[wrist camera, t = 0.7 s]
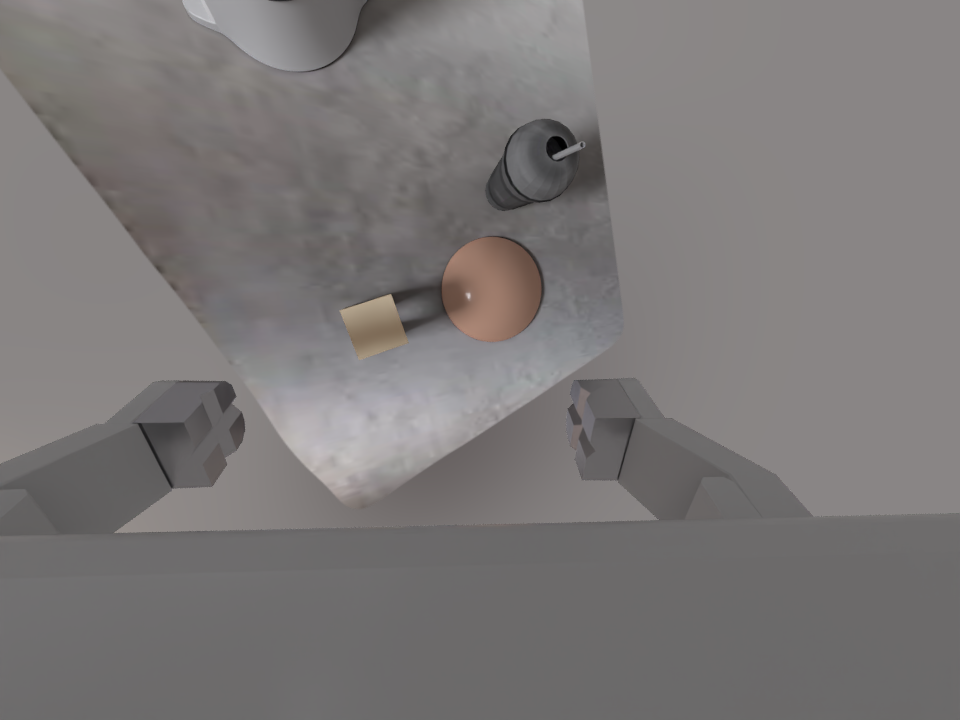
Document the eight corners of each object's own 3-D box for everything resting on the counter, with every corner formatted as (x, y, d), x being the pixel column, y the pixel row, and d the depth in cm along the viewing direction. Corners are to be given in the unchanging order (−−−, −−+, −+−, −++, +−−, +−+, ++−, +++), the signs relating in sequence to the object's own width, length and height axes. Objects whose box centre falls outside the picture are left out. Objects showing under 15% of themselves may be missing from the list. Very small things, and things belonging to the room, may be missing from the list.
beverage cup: (530, 162, 50) (626, 80, 31) (530, 223, 52) (623, 180, 33) (473, 158, 49) (538, 69, 30) (475, 221, 50) (538, 175, 31)
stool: (346, 307, 48) (339, 310, 38) (387, 294, 49) (391, 294, 39) (361, 347, 49) (359, 360, 39) (401, 333, 50) (408, 342, 40)
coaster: (426, 254, 49) (427, 254, 48) (524, 224, 51) (525, 224, 51) (460, 355, 52) (461, 355, 51) (550, 322, 54) (552, 322, 54)
